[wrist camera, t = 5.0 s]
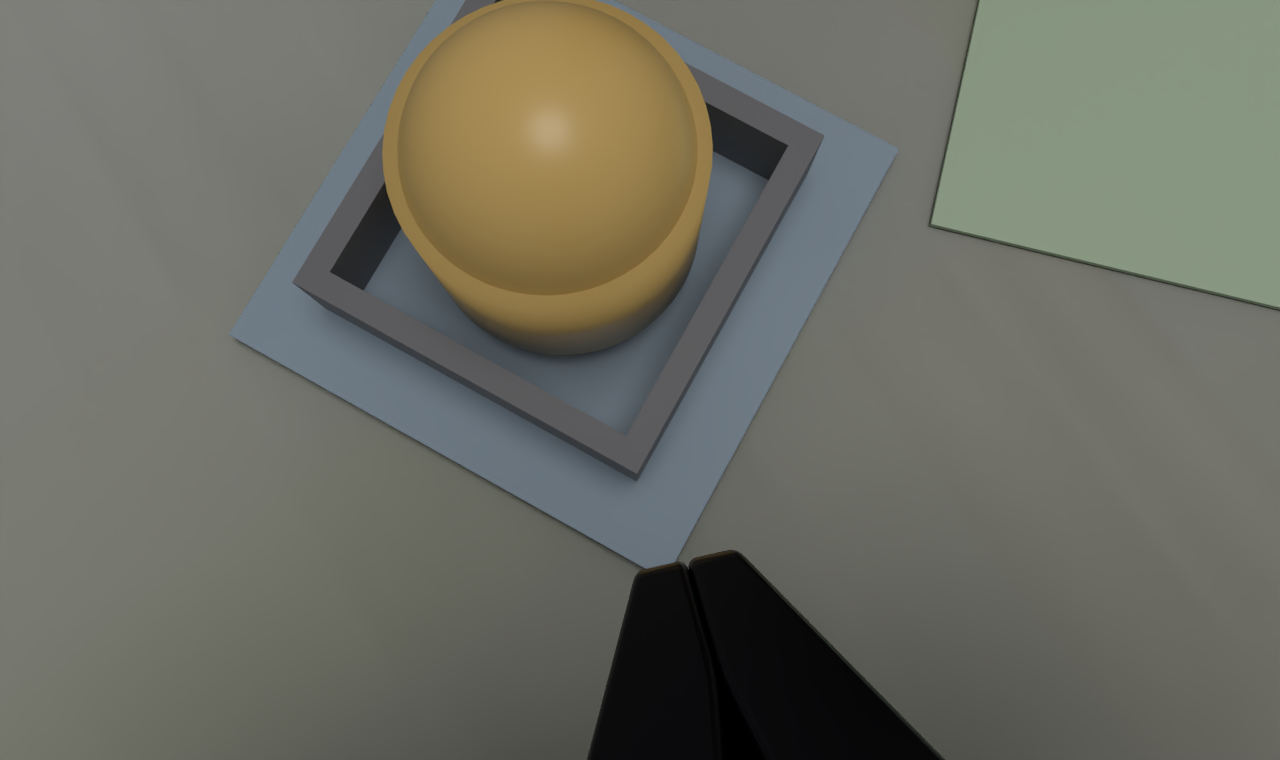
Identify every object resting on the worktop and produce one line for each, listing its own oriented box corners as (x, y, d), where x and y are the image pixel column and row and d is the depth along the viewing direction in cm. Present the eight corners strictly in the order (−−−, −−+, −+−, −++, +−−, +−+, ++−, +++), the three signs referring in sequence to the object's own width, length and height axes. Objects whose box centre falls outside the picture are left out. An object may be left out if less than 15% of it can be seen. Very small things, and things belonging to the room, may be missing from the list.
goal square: (1360, 329, 23) (1364, 327, 23) (929, 225, 24) (931, 223, 24) (1422, -68, 25) (1426, -71, 25) (1013, -161, 25) (1015, -165, 25)
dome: (616, 404, 21) (607, 347, 15) (378, 273, 22) (280, 168, 16) (747, 171, 22) (787, 30, 16) (514, 47, 22) (469, -134, 17)
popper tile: (664, 579, 23) (667, 582, 20) (235, 337, 23) (186, 311, 21) (894, 155, 24) (925, 107, 21) (481, -60, 25) (464, -132, 22)
